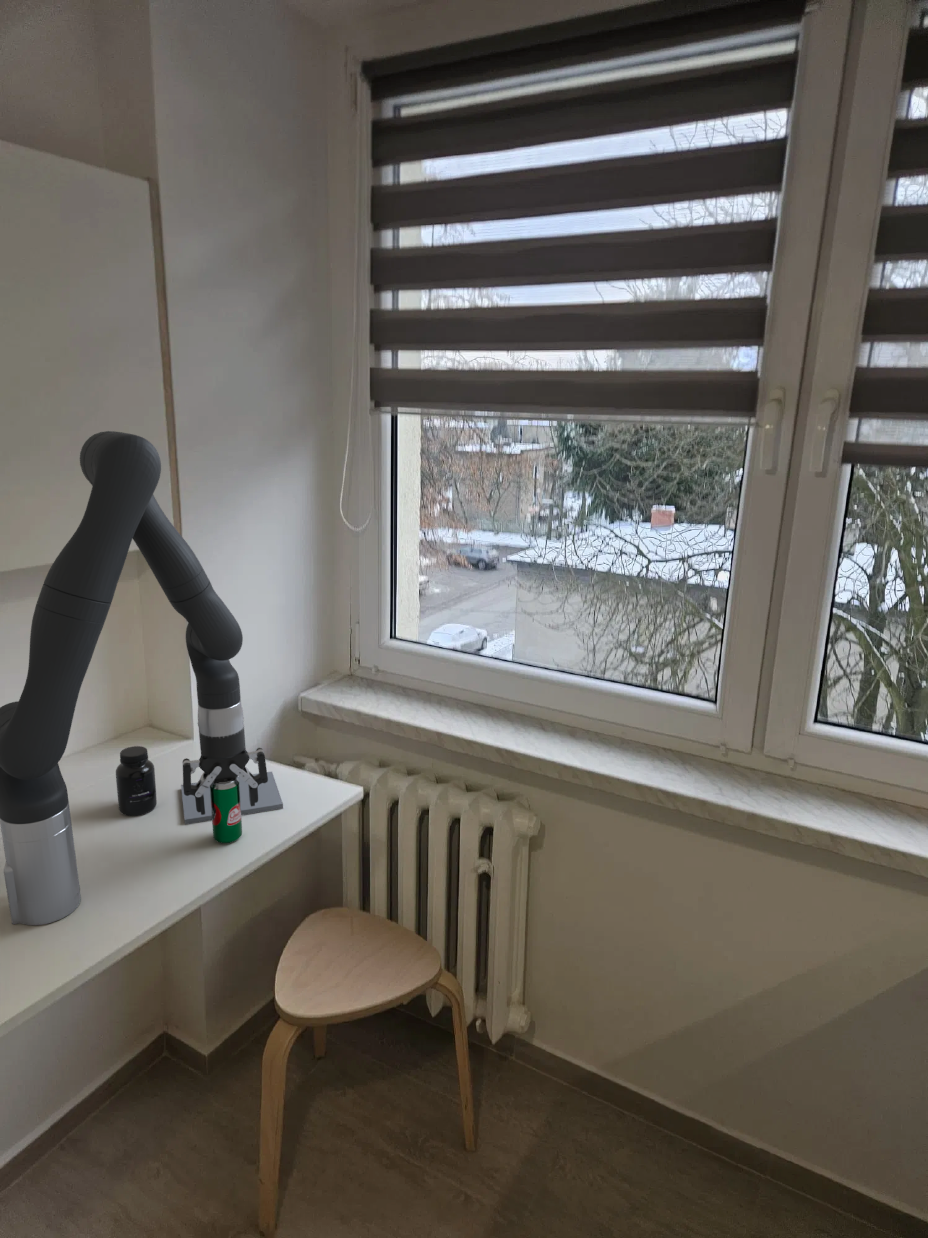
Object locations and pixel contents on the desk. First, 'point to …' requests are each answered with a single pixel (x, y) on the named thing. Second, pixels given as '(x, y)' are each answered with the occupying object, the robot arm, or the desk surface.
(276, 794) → the slate gray mat
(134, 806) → the supplement bottle
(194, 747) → the desk surface
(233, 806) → the soda can
